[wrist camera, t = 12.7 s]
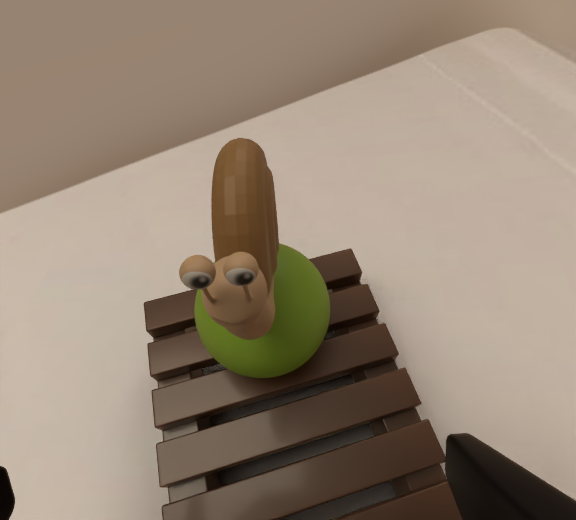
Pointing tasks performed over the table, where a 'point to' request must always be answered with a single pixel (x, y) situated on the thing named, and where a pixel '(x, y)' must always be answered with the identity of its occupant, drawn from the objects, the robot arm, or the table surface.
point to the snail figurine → (254, 276)
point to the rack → (293, 418)
